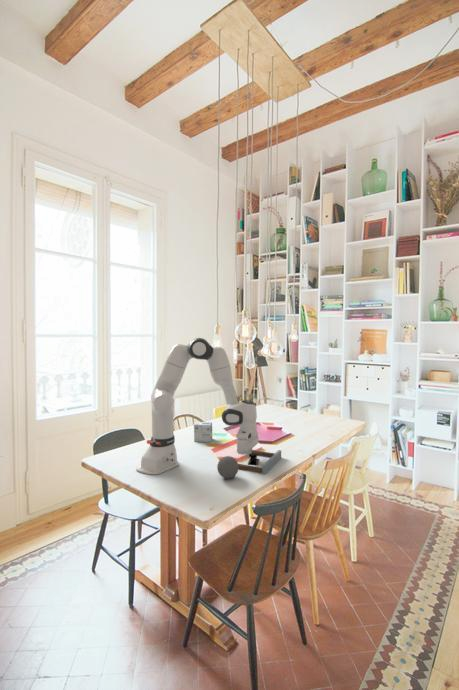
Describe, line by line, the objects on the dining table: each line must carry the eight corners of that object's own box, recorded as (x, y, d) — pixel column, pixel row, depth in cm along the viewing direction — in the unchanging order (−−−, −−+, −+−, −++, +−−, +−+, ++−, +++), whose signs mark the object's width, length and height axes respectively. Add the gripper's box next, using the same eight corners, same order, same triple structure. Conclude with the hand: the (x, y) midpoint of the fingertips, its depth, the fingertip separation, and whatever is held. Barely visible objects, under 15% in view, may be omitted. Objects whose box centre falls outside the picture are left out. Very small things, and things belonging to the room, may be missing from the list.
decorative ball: (241, 480, 170) (241, 459, 169) (221, 483, 167) (221, 462, 166) (234, 472, 179) (233, 452, 179) (214, 475, 176) (214, 454, 175)
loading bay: (265, 474, 176) (265, 466, 176) (218, 465, 188) (218, 457, 187) (281, 457, 198) (281, 450, 197) (238, 450, 209) (238, 443, 209)
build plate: (259, 468, 186) (259, 459, 185) (244, 467, 187) (244, 458, 187) (261, 458, 198) (261, 450, 197) (248, 458, 199) (248, 449, 199)
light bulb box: (212, 438, 232) (212, 421, 231) (211, 442, 225) (210, 424, 224) (196, 438, 233) (195, 421, 232) (193, 441, 226) (193, 424, 225)
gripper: (250, 425, 203) (250, 450, 204) (234, 435, 185) (234, 462, 186) (261, 426, 200) (261, 451, 201) (246, 437, 182) (246, 464, 183)
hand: (248, 457), depth 193 cm, fingers closed
